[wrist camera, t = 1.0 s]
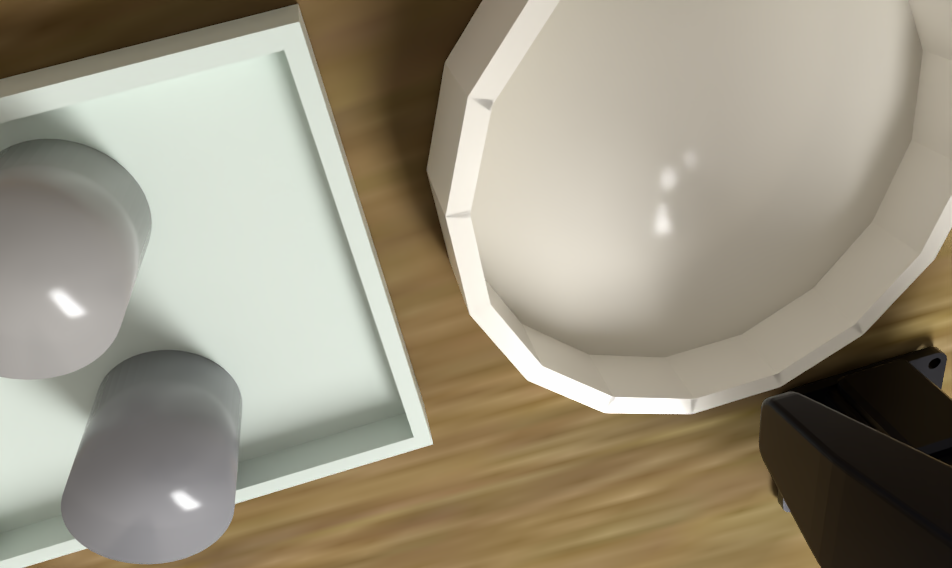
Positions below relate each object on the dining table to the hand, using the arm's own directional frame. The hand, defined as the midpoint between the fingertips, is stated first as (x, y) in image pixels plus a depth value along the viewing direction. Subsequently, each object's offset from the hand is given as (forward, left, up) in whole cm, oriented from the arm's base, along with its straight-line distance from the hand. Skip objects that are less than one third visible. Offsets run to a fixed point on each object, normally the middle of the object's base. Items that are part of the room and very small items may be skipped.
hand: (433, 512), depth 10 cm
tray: (-3, +7, -13) cm, 15 cm away
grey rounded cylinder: (-6, +7, -12) cm, 15 cm away
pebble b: (+1, +7, -12) cm, 14 cm away
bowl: (-3, -9, -13) cm, 16 cm away
